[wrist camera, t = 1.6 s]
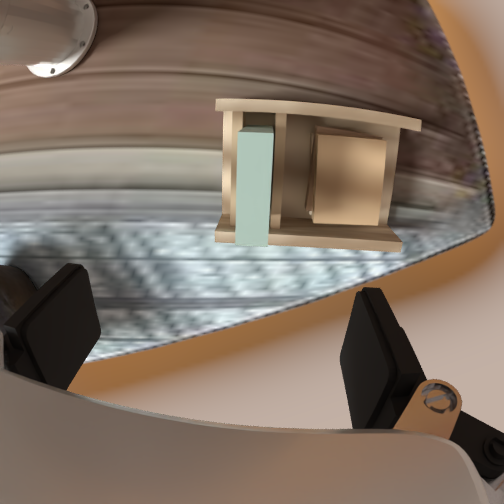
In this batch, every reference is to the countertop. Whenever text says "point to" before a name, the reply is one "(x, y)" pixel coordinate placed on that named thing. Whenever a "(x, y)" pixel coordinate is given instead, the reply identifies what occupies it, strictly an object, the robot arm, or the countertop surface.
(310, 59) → the countertop surface
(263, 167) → the pale green slab
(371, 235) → the rack
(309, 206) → the offcut
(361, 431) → the robot arm
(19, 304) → the pitcher
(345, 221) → the offcut
